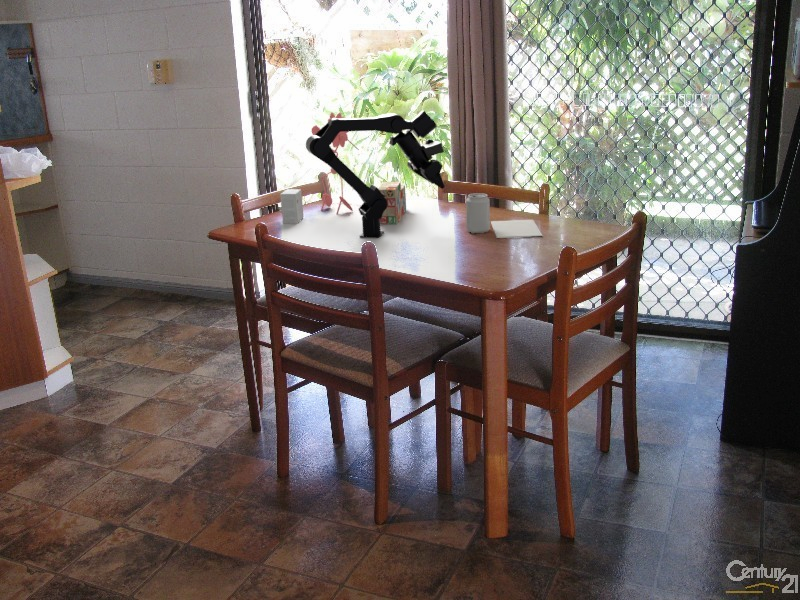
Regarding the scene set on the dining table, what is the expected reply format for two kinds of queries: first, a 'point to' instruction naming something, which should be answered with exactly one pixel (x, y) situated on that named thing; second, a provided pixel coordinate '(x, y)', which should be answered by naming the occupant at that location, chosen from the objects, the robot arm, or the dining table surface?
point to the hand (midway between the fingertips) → (438, 185)
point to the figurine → (338, 140)
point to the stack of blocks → (393, 202)
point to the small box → (291, 205)
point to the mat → (515, 228)
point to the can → (478, 213)
